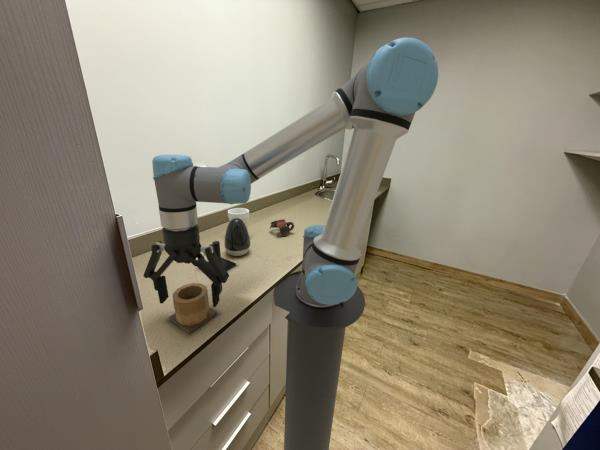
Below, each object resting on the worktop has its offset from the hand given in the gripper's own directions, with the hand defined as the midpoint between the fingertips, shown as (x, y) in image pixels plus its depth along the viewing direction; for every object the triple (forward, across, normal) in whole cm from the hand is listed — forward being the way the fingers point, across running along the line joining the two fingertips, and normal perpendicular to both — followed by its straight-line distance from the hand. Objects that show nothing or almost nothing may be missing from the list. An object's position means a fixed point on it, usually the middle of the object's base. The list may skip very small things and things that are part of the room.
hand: (190, 301), depth 63 cm
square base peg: (+5, +2, -26) cm, 26 cm away
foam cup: (+5, +1, -53) cm, 53 cm away
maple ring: (+4, 0, 0) cm, 4 cm away
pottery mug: (+5, -18, -60) cm, 63 cm away
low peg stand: (+5, 0, 0) cm, 5 cm away
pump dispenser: (+5, -2, -37) cm, 38 cm away
